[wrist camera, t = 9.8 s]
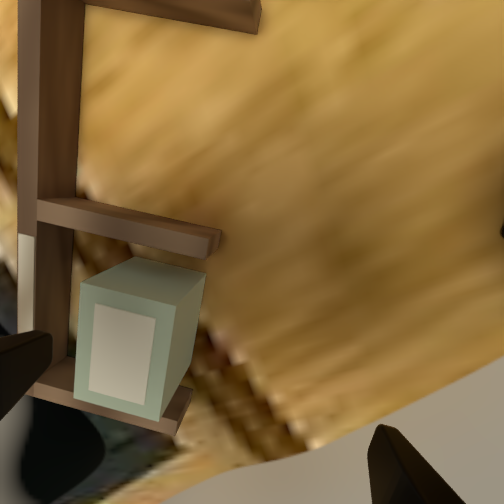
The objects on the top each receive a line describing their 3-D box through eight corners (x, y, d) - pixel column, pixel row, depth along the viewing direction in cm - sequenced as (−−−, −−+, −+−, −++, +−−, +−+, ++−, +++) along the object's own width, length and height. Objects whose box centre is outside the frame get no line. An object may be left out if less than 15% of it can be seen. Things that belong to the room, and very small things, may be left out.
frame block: (206, 272, 19) (175, 307, 14) (191, 362, 21) (157, 423, 16) (136, 255, 20) (78, 282, 14) (126, 345, 22) (72, 399, 16)
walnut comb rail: (261, 9, 15) (255, -33, 12) (190, 402, 22) (174, 437, 19) (66, -25, 16) (16, -73, 13) (51, 365, 23) (15, 393, 20)
